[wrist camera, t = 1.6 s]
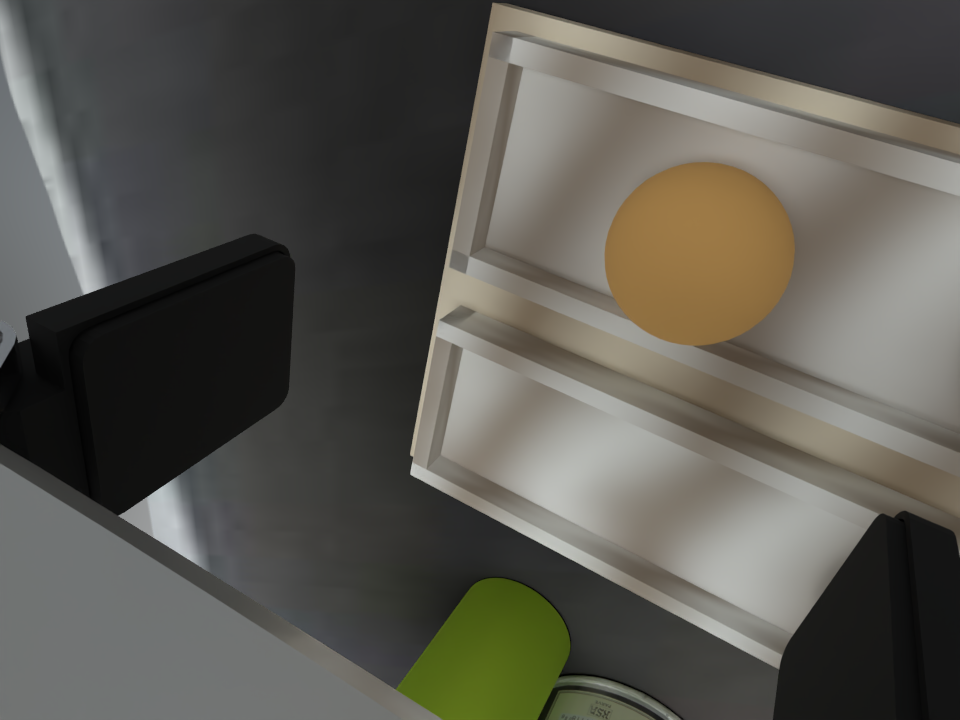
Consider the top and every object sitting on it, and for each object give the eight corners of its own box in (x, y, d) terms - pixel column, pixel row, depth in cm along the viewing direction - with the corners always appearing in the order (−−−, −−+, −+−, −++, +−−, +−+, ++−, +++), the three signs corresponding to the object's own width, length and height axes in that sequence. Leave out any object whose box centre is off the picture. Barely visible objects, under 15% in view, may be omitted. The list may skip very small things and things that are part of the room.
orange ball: (834, 179, 19) (824, 222, 15) (760, 333, 22) (734, 404, 18) (662, 127, 20) (611, 153, 16) (612, 276, 23) (558, 330, 19)
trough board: (1452, 255, 15) (1547, 294, 13) (969, 723, 25) (978, 789, 23) (506, 3, 22) (467, 1, 20) (421, 444, 32) (389, 474, 30)
